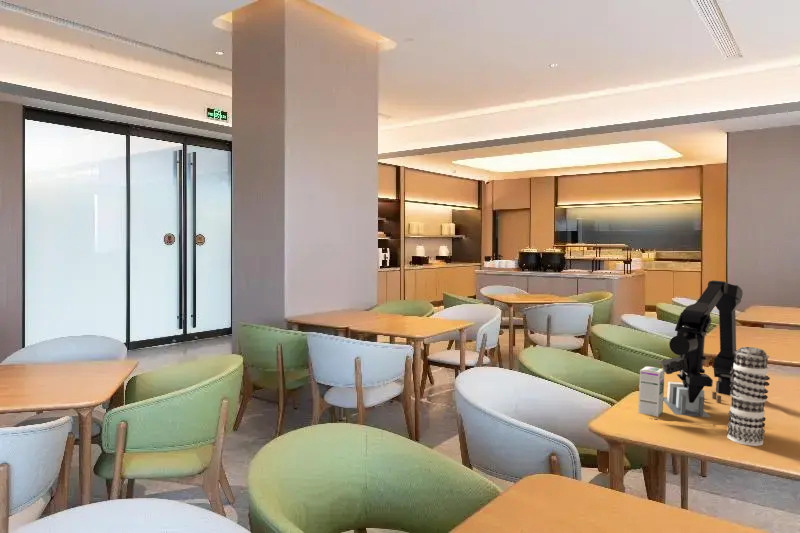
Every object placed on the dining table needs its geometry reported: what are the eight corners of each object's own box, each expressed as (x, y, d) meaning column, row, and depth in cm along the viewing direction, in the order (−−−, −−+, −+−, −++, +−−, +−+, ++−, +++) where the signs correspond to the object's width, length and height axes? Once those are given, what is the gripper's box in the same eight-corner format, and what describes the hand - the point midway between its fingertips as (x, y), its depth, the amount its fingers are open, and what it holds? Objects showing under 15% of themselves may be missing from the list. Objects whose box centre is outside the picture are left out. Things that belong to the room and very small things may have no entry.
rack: (692, 403, 186) (693, 383, 185) (711, 421, 168) (712, 399, 168) (659, 400, 188) (660, 380, 187) (674, 418, 170) (676, 396, 170)
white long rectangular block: (700, 408, 174) (701, 388, 173) (703, 410, 171) (704, 391, 171) (675, 406, 175) (677, 386, 175) (678, 408, 173) (679, 389, 172)
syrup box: (658, 420, 168) (661, 372, 166) (637, 416, 171) (640, 368, 170) (662, 415, 172) (665, 368, 171) (642, 411, 176) (645, 365, 175)
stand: (717, 401, 188) (718, 391, 188) (724, 407, 182) (725, 396, 182) (691, 399, 190) (692, 389, 189) (697, 405, 184) (698, 394, 184)
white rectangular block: (690, 401, 183) (691, 383, 183) (692, 403, 181) (693, 385, 181) (666, 399, 185) (668, 381, 184) (668, 401, 182) (670, 383, 182)
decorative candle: (717, 435, 156) (723, 346, 155) (741, 432, 160) (748, 344, 158) (748, 448, 148) (755, 353, 146) (773, 444, 151) (780, 351, 149)
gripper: (656, 342, 182) (654, 390, 184) (673, 355, 164) (669, 408, 165) (694, 345, 180) (691, 393, 182) (714, 358, 162) (711, 412, 163)
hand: (689, 401), depth 173 cm, fingers closed on white long rectangular block, 2 cm apart
